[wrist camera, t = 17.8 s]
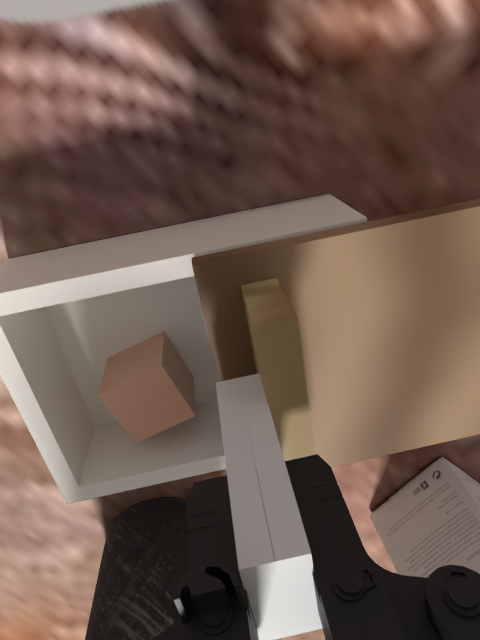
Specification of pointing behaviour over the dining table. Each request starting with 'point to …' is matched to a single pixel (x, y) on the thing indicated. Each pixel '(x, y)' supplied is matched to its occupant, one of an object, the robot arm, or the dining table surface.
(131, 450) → the keepsake box
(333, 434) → the lid
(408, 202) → the dining table surface
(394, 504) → the skincare box
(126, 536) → the travel mug
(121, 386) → the cube terracotta
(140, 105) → the dining table surface
